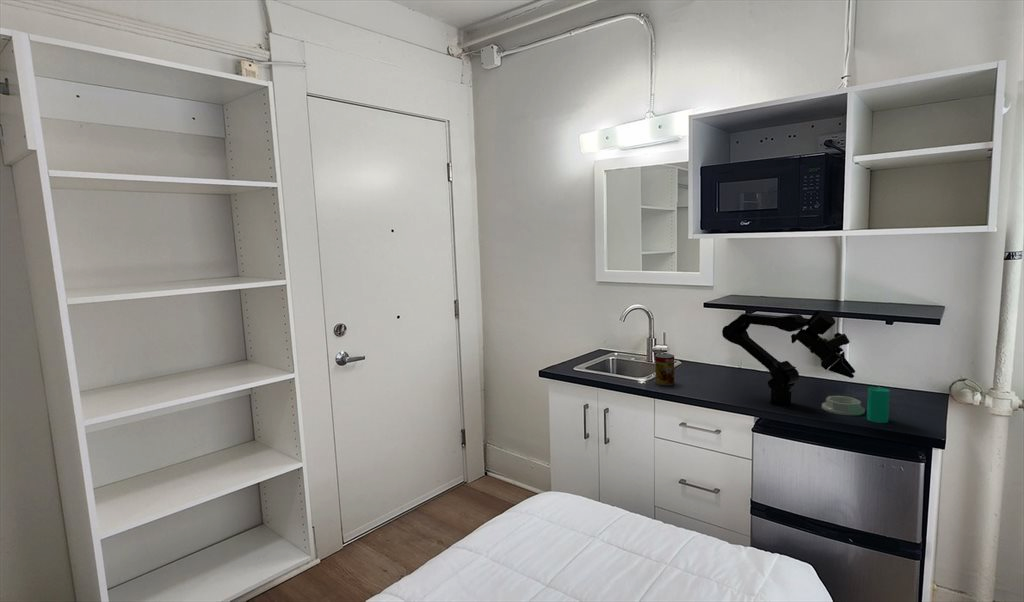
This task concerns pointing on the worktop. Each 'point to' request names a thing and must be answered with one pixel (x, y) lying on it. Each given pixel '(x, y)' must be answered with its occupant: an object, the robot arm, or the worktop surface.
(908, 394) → the worktop surface
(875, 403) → the candle
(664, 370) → the canned food
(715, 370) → the worktop surface
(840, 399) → the candle dish
